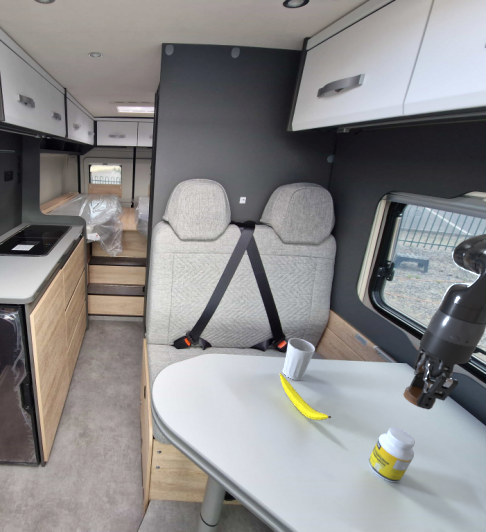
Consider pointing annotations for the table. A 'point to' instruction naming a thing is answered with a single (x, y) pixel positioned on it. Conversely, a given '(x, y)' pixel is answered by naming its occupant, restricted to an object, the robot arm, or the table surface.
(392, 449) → the pill bottle
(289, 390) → the banana
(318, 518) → the table surface
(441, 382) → the robot arm
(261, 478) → the table surface
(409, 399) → the brown bottle cap
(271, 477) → the table surface
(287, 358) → the cup
